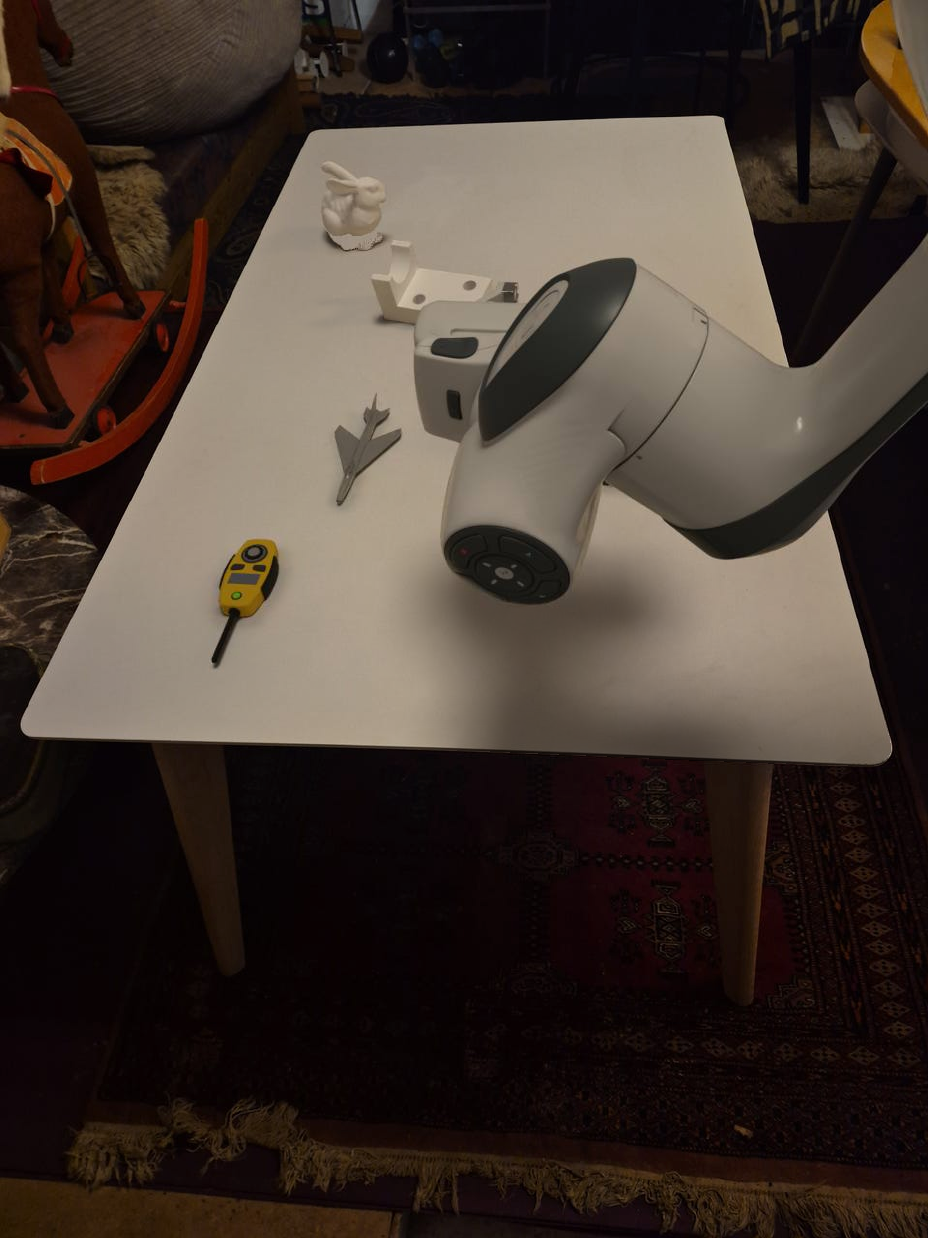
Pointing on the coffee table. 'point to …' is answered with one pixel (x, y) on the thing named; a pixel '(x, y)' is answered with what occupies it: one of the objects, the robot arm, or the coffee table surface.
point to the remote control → (246, 583)
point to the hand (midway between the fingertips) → (571, 292)
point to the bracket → (421, 286)
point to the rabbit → (351, 203)
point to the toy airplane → (361, 446)
